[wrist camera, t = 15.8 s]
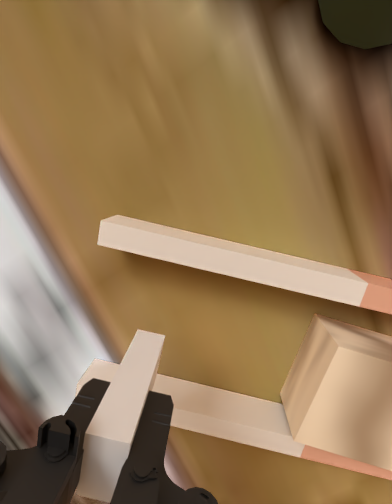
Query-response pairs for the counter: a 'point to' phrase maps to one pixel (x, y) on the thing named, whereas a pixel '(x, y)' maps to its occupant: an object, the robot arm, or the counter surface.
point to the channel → (257, 270)
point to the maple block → (342, 392)
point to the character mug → (359, 21)
